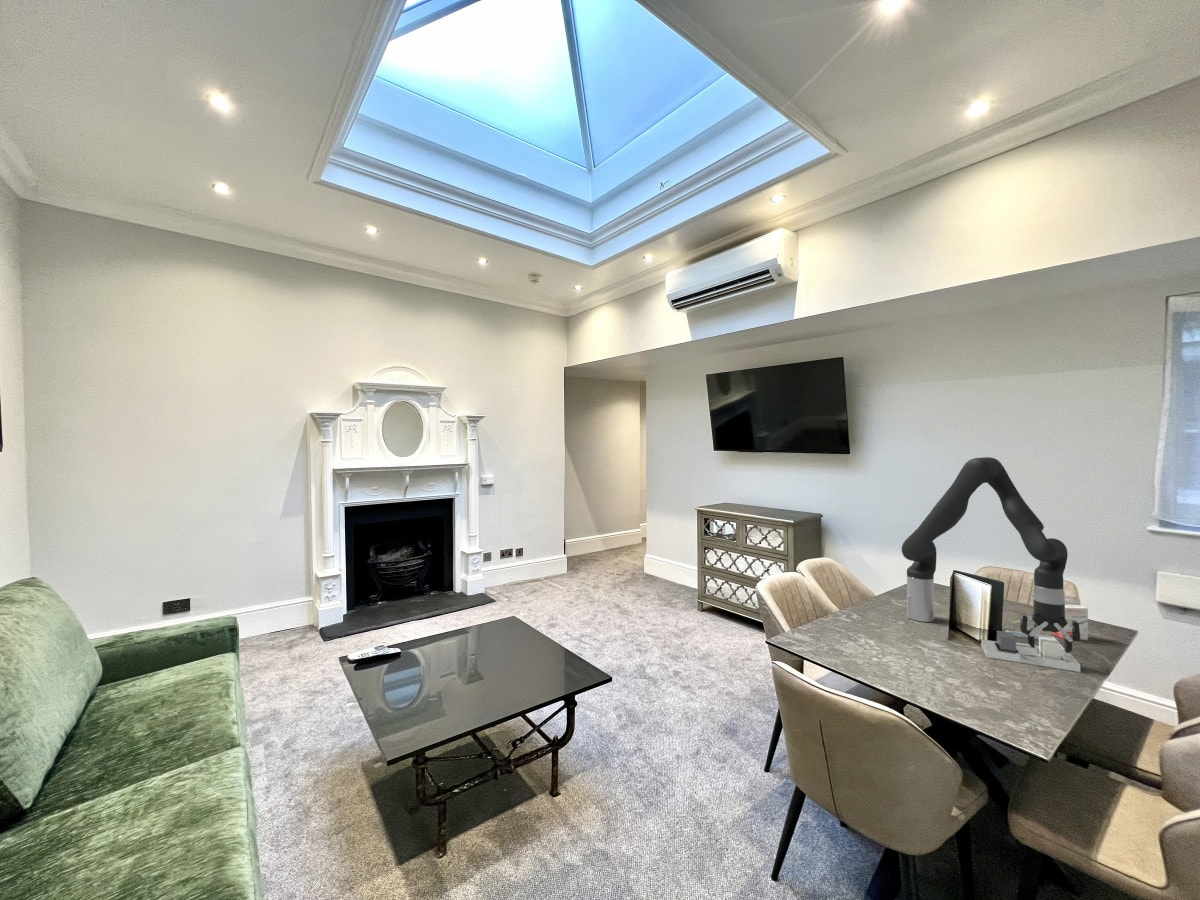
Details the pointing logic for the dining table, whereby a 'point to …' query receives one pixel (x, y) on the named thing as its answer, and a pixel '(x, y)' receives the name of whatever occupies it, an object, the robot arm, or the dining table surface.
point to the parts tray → (1034, 638)
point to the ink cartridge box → (1075, 618)
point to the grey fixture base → (1025, 653)
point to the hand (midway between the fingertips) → (1049, 649)
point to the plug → (1049, 648)
